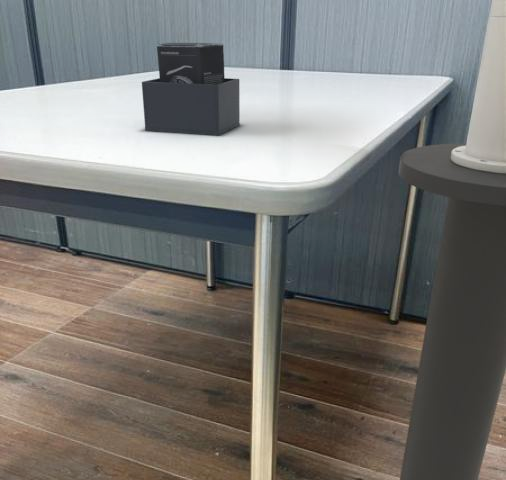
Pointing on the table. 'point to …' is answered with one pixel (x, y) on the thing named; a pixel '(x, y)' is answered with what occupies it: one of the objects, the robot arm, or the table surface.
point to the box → (191, 63)
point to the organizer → (191, 107)
